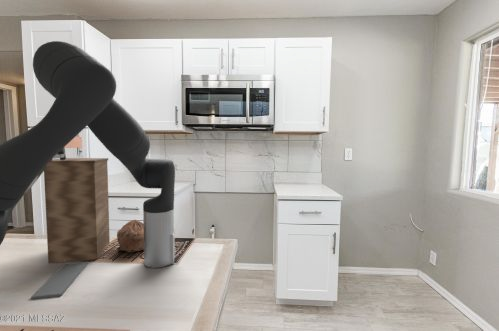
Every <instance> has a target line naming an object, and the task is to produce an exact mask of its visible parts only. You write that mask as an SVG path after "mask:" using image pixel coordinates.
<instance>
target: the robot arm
mask: <svg viewBox="0 0 499 331" xmlns="http://www.w3.org/2000/svg"><path fill="white" fill-rule="evenodd" d="M32 69H33V73H34V75H35V78H36V80H37V81H38V83H39V85H41V87H42V88H43V89H44V90H45V91H47V93H49V94H50V95H51V96H52V97H54V98H55V99H54V102H53V104H52V105H51V106H50V108H49V110H48V111H47V113H46V114H45V115H44V116H43V118H42V119H41V120H40V121H39V122H38V123H36V124H35V125H33V127H31V128H30V129H28V130H27V131H24V132H22V133H21V134H19V135H16V136H14V137H12V138H10V139H8V140H5V141H4V142H2V143H0V246H1V245H2V244H3V242H4V240H5V237H6V235H7V231H8V226H9V222H10V219H11V215H12V212H13V210H14V208H15V207H16V206H17V204H18V203H19V202H20V201H21V199H22V198H23V197H24V195H26V193H27V192H28V191H30V190H31V188H32V187H33V186H34V184H35V183H36V182H37V181H38V179H39V178H40V176H41V175H42V174H44V170H45V167H46V165H47V163H49V162H50V161H52V159H60V160H65V159H66V158H67V156H66V148H64V147H65V146H66V145H67V144H68V143H69V142H70V141H71V140H72V139H73V138H75V137H78V135H79V134H80V133H81V132H82V131H83V130H84V129H85V128H87V127H88V129H89V130H90V131H91V132H92V133H93V135H94V136H95V137H96V138H97V140H98V141H99V142H100V143H101V144H102V145H103V147H105V149H107V150H108V151H109V153H111V155H112V156H114V157H115V158H116V159H118V161H119V162H120V163H122V165H123V166H124V168H126V169H127V170H128V171H129V173H130V174H131V176H132V177H133V178H134V180H135V181H136V183H137V184H138V185H139V186H140V187H141V188H145V189H160V194H158V195H156V196H154V197H151V198H148V199H146V200H144V202H143V204H142V207H143V208H142V209H143V210H142V211H143V212H142V216H143V222H142V223H143V224H144V249H143V262H144V266H146V267H148V268H153V269H155V268H156V269H157V268H164V267H166V266H168V265H169V266H170V265H174V264H175V258H176V256H175V253H176V252H175V251H176V249H175V242H176V241H175V215H174V214H175V212H174V211H175V209H174V208H175V203H174V202H175V180H176V169H175V164H174V161H173V160H171V159H164V158H163V159H162V158H161V159H160V158H158V159H156V158H154V159H153V158H151V159H150V158H147V157H148V154H149V151H150V150H151V149H150V148H151V144H150V143H151V142H150V139H149V136H148V135H147V133H146V132H145V130H144V128H143V127H142V126H141V124H140V123H139V122H138V121H137V120H136V119H135V117H133V116H132V115H131V113H130V112H128V111H127V110H126V108H125V107H124V106H122V105H121V104H120V103H119V102H118V101H117V100H115V98H114V96H115V95H116V91H117V81H116V77H115V75H114V74H113V72H112V71H111V69H109V68H108V67H107V66H106V65H104V64H103V62H102V63H101V62H100V61H99V60H97V59H96V58H95V57H94V56H92V55H91V54H90V53H88V52H86V51H85V50H84V49H82V48H81V47H79V46H77V45H74V44H71V43H69V42H65V41H61V40H60V41H57V40H56V41H55V40H54V41H48V42H45V43H43V44H41V45H40V46H39V47H37V49H36V51H35V52H34V55H33V58H32Z"/></svg>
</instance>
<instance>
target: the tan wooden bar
mask: <svg viewBox="0 0 499 331" xmlns="http://www.w3.org/2000/svg"><path fill="white" fill-rule="evenodd" d="M82 139H83V137H82V136H76V137H75V138H73V139H72V140H71V141H70V142H69V143H68V144H67V145H66V146H65V147H64V148H65V149H71V148H73V149H79V148H81V149H82V148H83V140H82Z"/></svg>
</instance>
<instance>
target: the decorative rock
mask: <svg viewBox="0 0 499 331" xmlns="http://www.w3.org/2000/svg"><path fill="white" fill-rule="evenodd" d="M116 237H117V243H118V246H119V248H120V249H119V251H124V252H127V253H129V254H130V253H135V252H139V251H142V250H144V224H143V222H141V221H139V220H137V219H133V220H129V221H127V223H125V224H124V225H122V227H121V228H120V229H119V230H117V232H116Z"/></svg>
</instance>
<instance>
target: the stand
mask: <svg viewBox="0 0 499 331" xmlns="http://www.w3.org/2000/svg"><path fill="white" fill-rule="evenodd" d="M108 161H109V157H108V158H107V157H106V158H105V157H104V158H103V157H102V158H101V157H99V158H98V157H87V158H86V157H85V158H84V157H73V158H72V157H66V159H65V160H60V158H55V159H52V161H50V162H49V163H47V165H46V167H45V170H44V171H43V178H44V180H43V181H44V194H45V195H44V200H45V201H44V202H45V218H46V219H45V220H46V239H47V240H46V242H47V259H48V260H47V262H48V264H55V263H65V262H77V261H79V262H80V261H90V260H98V259H99V258H100V257H101V255H102V254H103V252H105V250H106V249H107V248H108V246H109V245H110V243H111V242H110V240H111V239H110V237H111V236H110V215H109V214H110V212H109V211H110V210H109V208H110V207H109V206H110V205H109V178H108V176H109V175H108V174H109V173H108V172H109V171H108V169H109V168H108Z"/></svg>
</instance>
